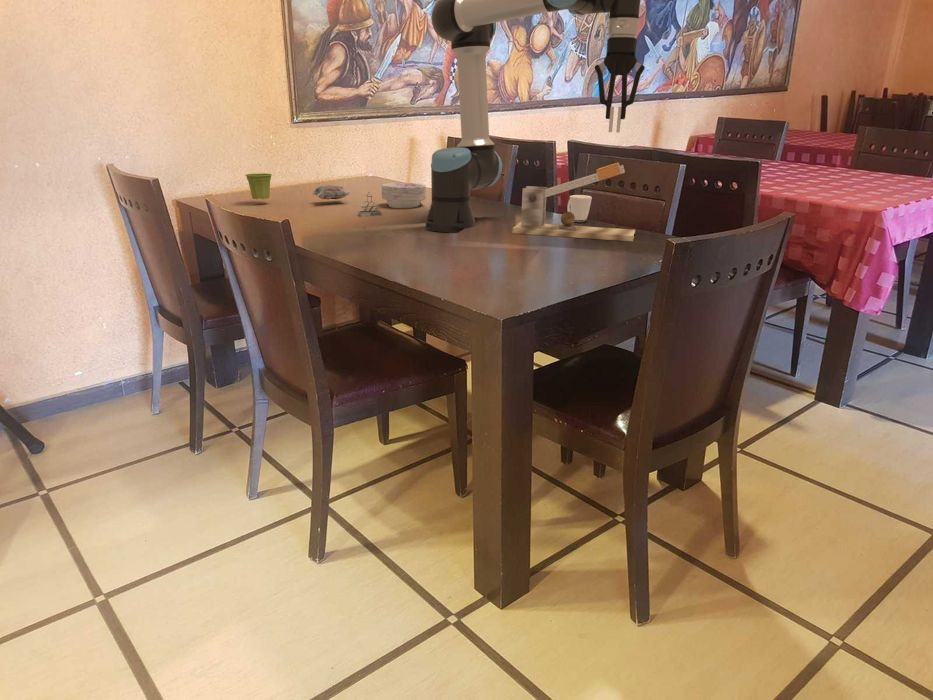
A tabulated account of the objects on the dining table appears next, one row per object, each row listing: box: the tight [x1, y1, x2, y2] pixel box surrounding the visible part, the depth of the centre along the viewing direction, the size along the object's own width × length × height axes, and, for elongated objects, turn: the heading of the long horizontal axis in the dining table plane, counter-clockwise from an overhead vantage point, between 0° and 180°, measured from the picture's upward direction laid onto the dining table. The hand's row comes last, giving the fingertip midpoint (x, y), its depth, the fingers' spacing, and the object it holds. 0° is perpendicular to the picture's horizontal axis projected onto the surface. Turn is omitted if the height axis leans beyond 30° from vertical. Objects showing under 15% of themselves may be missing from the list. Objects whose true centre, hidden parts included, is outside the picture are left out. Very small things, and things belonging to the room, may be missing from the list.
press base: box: [512, 185, 636, 242], centre depth 198 cm, size 34×10×12 cm, turn 74°
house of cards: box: [357, 191, 382, 218], centre depth 227 cm, size 9×9×8 cm
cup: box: [566, 194, 593, 221], centre depth 218 cm, size 7×10×8 cm
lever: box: [544, 162, 626, 198], centre depth 195 cm, size 28×4×4 cm, turn 74°
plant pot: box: [244, 172, 273, 200], centre depth 254 cm, size 9×9×9 cm
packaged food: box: [312, 185, 350, 201], centre depth 253 cm, size 9×12×5 cm
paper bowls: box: [381, 182, 427, 209], centre depth 240 cm, size 15×15×8 cm
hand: (614, 132), depth 188 cm, fingers closed
